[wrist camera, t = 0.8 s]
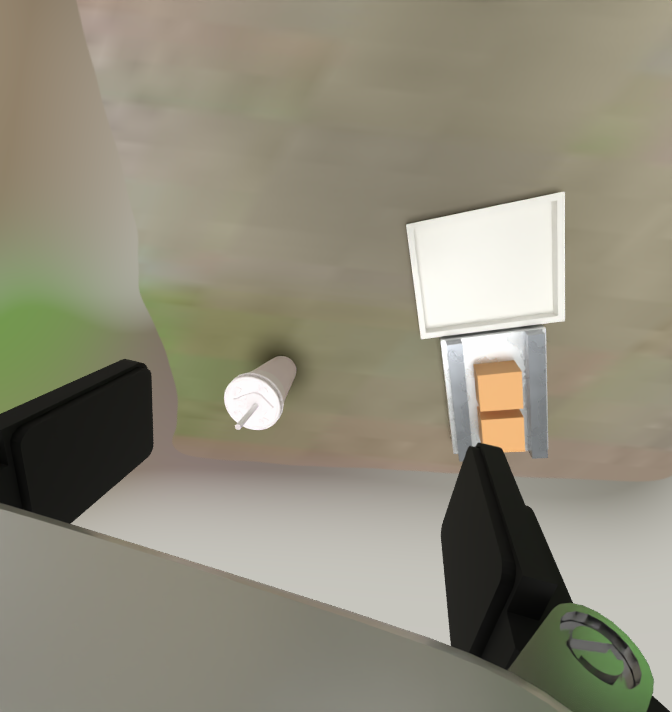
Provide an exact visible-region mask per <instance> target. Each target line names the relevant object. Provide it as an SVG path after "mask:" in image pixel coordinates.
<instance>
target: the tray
mask: <svg viewBox="0 0 672 712" xmlns="http://www.w3.org/2000/svg"><path fill="white" fill-rule="evenodd" d="M406 228H407V236H408V243H409V251H410V258H411V266H412V274H413V281H414V289H415V296H416V304H417V311H418V319H419V327H420V334H421V339H426V338H434V337H442V336H450V335H458V334H466V333H474V332H481V331H489V330H497V329H505V328H513V327H521V326H529V325H537V324H545V323H552V322H560V321H565V192H559V193H554V194H549V195H544V196H539V197H535V198H530V199H525V200H520V201H515V202H511V203H506V204H501V205H496V206H492V207H487V208H482V209H477V210H472V211H468V212H463V213H458V214H453V215H448V216H444V217H439V218H434V219H429V220H424V221H420V222H415V223H410V224H406Z"/></svg>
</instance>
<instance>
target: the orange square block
mask: <svg viewBox="0 0 672 712" xmlns="http://www.w3.org/2000/svg"><path fill="white" fill-rule="evenodd" d="M473 368H474V380H475V391H476V399H477V403H478V406H479V409H480V412H483V411H497V410H510V409H523V387H522V371H521V369H520V368H519V367H518V365H517V364H516V362H515V361H514V360H511V361H501V362H492V363H482V364H473Z"/></svg>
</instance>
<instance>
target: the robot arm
mask: <svg viewBox="0 0 672 712" xmlns="http://www.w3.org/2000/svg"><path fill="white" fill-rule="evenodd" d="M151 381H152V380H151V372H150V370H148V369H147V366H146V365H145V364H144V363H140V362H136V361H132V360H127V359H123V360H120V361H118V362H116V363H114V364H111V365H109V366H107V367H105V368H102V369H100V370H98V371H96V372H93V373H91V374H89V375H87V376H84V377H82V378H80V379H78V380H75V381H73V382H71V383H69V384H66V385H64V386H62V387H60V388H57V389H55V390H53V391H51V392H48V393H46V394H44V395H42V396H39V397H37V398H35V399H33V400H30V401H28V402H26V403H24V404H22V405H19V406H17V407H15V408H13V409H10V410H8V411H6V412H4V413H1V414H0V712H670V711H669V710H668V709H667V708H665V707H664V706H663V705H662V704H661V703H660V702H659V701H658V700H657V699H655V698H654V697H653V696H652V694H653V684H654V679H653V676H652V673H651V670H650V667H649V665H648V663H647V661H646V659H645V658H644V656H643V655H642V653H641V652H640V650H639V648H638V647H637V646H636V645H635V644H634V643H633V642H632V640H631V639H630V638H629V637H628V636H627V634H625V633H624V632H623V631H622V630H621V629H619V627H617V626H616V625H615V624H614V623H613V622H612V621H610V620H609V619H607V618H605V617H604V616H603V615H601V614H600V613H598V612H596V611H594V610H592V609H590V608H587V607H585V606H583V605H578V604H574V603H573V602H572V600H571V597H570V595H569V593H568V590H567V588H566V586H565V583H564V582H563V579H562V576H561V574H560V572H559V569H558V567H557V565H556V562H555V560H554V558H553V555H552V553H551V551H550V549H549V546H548V544H547V542H546V539H545V537H544V535H543V532H542V530H541V528H540V525H539V523H538V521H537V518H536V516H535V514H534V512H533V510H532V509H531V508H530V507H529V506H526V505H525V504H524V501H523V499H522V496H521V494H520V491H519V489H518V486H517V484H516V481H515V479H514V476H513V474H512V472H511V469H510V467H509V464H508V462H507V459H506V457H505V454H504V452H503V450H502V448H501V447H497V446H492V445H488V444H484V443H480V442H479V443H477V444H476V446H475V447H473V446H469V447H468V449H467V451H466V454H465V457H464V460H463V463H462V466H461V469H460V472H459V475H458V478H457V481H456V484H455V487H454V491H453V493H452V496H451V499H450V502H449V505H448V508H447V512H446V514H445V518H444V520H443V524H442V529H441V543H442V553H443V564H444V575H445V585H446V597H447V608H448V618H449V629H450V640H451V646H449V645H446V644H444V643H441V642H439V641H436V640H433V639H431V638H428V637H425V636H422V635H419V634H416V633H413V632H410V631H407V630H404V629H401V628H398V627H396V626H392V625H390V624H387V623H383V622H381V621H378V620H374V619H372V618H369V617H366V616H363V615H360V614H357V613H354V612H351V611H348V610H345V609H341V608H338V607H335V606H332V605H329V604H326V603H322V602H319V601H316V600H313V599H310V598H307V597H304V596H300V595H297V594H294V593H291V592H288V591H285V590H281V589H278V588H275V587H272V586H269V585H266V584H263V583H259V582H256V581H253V580H249V579H247V578H243V577H240V576H237V575H234V574H231V573H228V572H224V571H221V570H218V569H215V568H212V567H208V566H205V565H202V564H199V563H195V562H192V561H189V560H186V559H183V558H179V557H176V556H173V555H170V554H167V553H163V552H160V551H156V550H154V549H150V548H147V547H144V546H140V545H137V544H134V543H131V542H127V541H124V540H121V539H118V538H114V537H111V536H108V535H105V534H102V533H98V532H95V531H92V530H88V529H85V528H82V527H79V526H75V525H72V524H70V523H72V522H73V521H74V520H75V519H76V518H78V517H79V516H80V515H81V514H82V513H83V512H85V510H87V509H88V508H89V507H90V506H92V505H93V504H94V503H95V502H96V501H97V500H98V499H100V498H101V497H102V496H103V495H104V494H106V492H108V491H109V490H110V489H111V488H112V487H114V486H115V485H116V484H117V483H118V482H120V481H121V480H122V479H123V478H124V477H125V476H126V475H128V474H129V473H130V472H131V471H132V470H133V469H135V468H136V467H137V466H138V465H139V464H140V463H141V462H143V461H144V460H145V459H146V458H147V457H148V456H149V455H150V454H151V452H152V449H153V418H152V417H153V414H152V382H151Z"/></svg>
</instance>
